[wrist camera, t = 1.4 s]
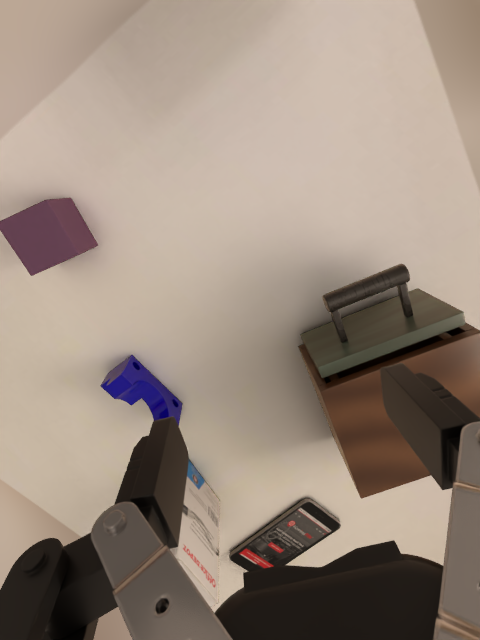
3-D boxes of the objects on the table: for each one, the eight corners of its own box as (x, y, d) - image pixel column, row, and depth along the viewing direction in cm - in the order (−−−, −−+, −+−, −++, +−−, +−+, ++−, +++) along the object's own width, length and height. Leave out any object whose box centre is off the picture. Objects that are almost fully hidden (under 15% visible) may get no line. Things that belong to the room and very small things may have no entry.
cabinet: (298, 346, 36) (320, 391, 28) (421, 297, 35) (482, 331, 27) (333, 437, 41) (361, 498, 33) (443, 398, 39) (499, 452, 31)
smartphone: (227, 558, 47) (308, 499, 43) (227, 553, 47) (307, 495, 44) (262, 580, 49) (343, 526, 45) (262, 574, 49) (341, 521, 46)
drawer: (284, 293, 33) (299, 318, 26) (408, 242, 31) (455, 256, 25) (334, 424, 39) (356, 470, 33) (439, 386, 38) (482, 426, 31)
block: (26, 218, 30) (-5, 223, 26) (71, 197, 29) (46, 199, 25) (56, 264, 31) (30, 276, 27) (98, 245, 31) (79, 254, 27)
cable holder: (108, 373, 36) (94, 394, 32) (131, 354, 35) (121, 374, 32) (159, 419, 38) (152, 444, 35) (182, 403, 38) (178, 427, 34)
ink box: (153, 471, 41) (129, 575, 30) (188, 456, 41) (177, 556, 30) (188, 514, 44) (177, 622, 33) (221, 500, 44) (221, 606, 33)
